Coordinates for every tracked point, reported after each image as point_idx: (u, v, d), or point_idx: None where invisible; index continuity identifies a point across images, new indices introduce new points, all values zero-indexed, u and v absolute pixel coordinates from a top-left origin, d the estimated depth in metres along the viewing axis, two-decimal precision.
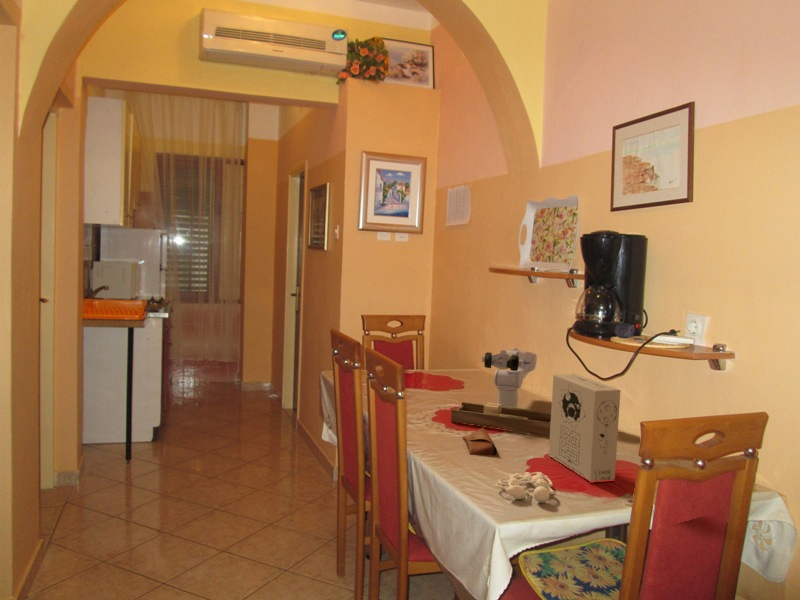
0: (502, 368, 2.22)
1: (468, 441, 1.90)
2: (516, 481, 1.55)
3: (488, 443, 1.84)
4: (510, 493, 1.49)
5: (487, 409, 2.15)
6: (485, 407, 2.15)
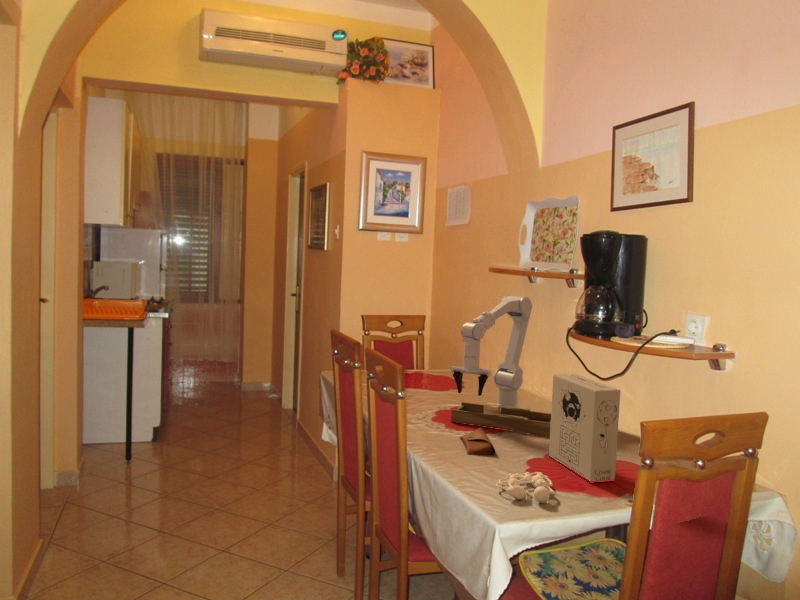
0: None
1: (466, 441, 1.90)
2: (516, 481, 1.55)
3: (486, 443, 1.84)
4: (510, 493, 1.49)
5: (487, 409, 2.15)
6: (485, 407, 2.15)
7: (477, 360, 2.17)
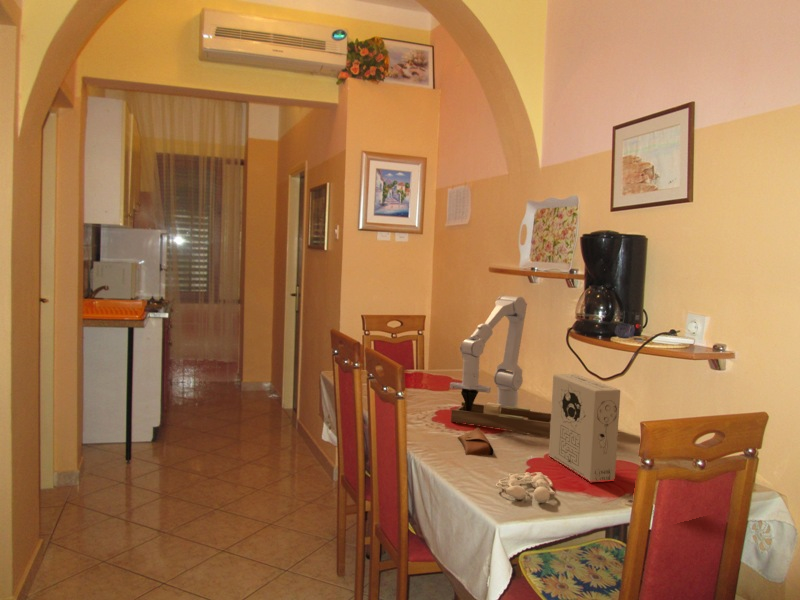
0: None
1: (464, 441, 1.90)
2: (516, 481, 1.55)
3: (484, 443, 1.84)
4: (510, 493, 1.49)
5: (487, 409, 2.15)
6: (485, 407, 2.15)
7: (476, 377, 2.17)
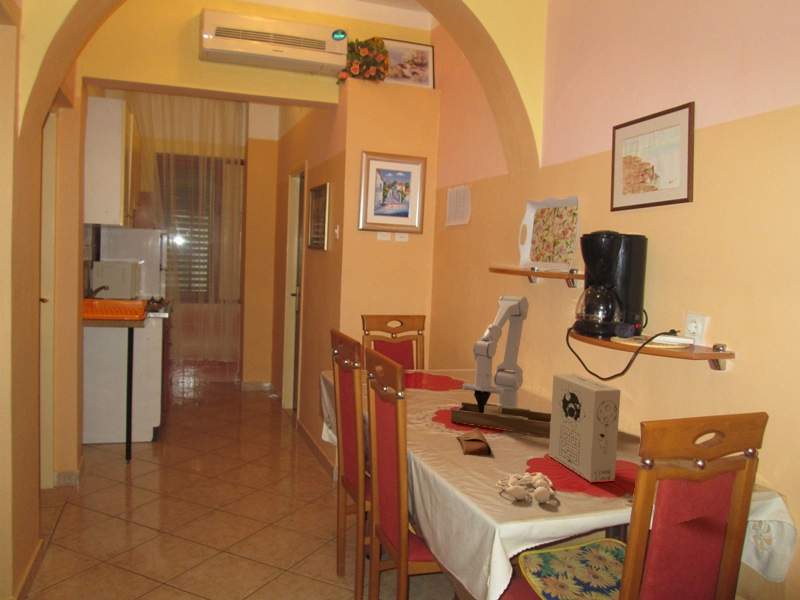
0: None
1: (462, 441, 1.90)
2: (516, 481, 1.55)
3: (482, 443, 1.84)
4: (510, 494, 1.49)
5: (488, 409, 2.15)
6: (486, 407, 2.15)
7: (489, 378, 2.15)
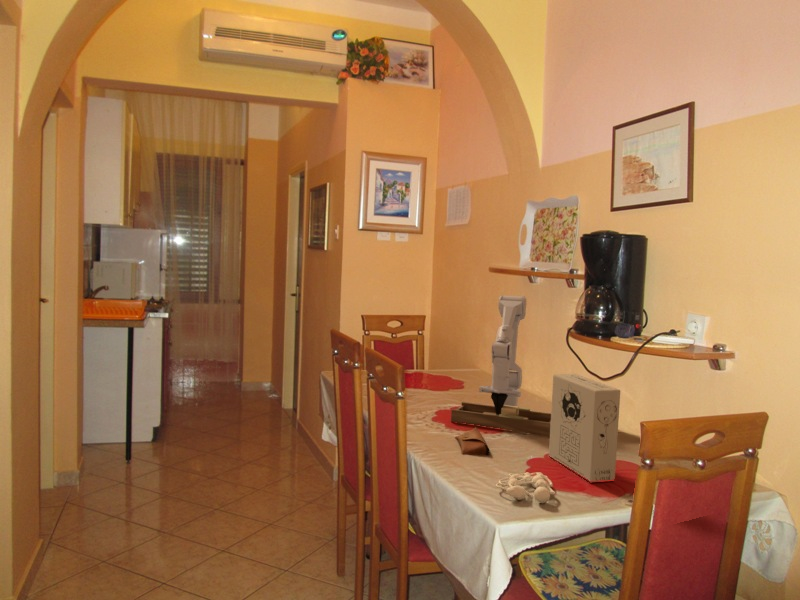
0: None
1: (461, 441, 1.90)
2: (516, 481, 1.55)
3: (480, 443, 1.84)
4: (511, 494, 1.49)
5: (505, 412, 2.12)
6: (503, 409, 2.13)
7: (506, 380, 2.13)
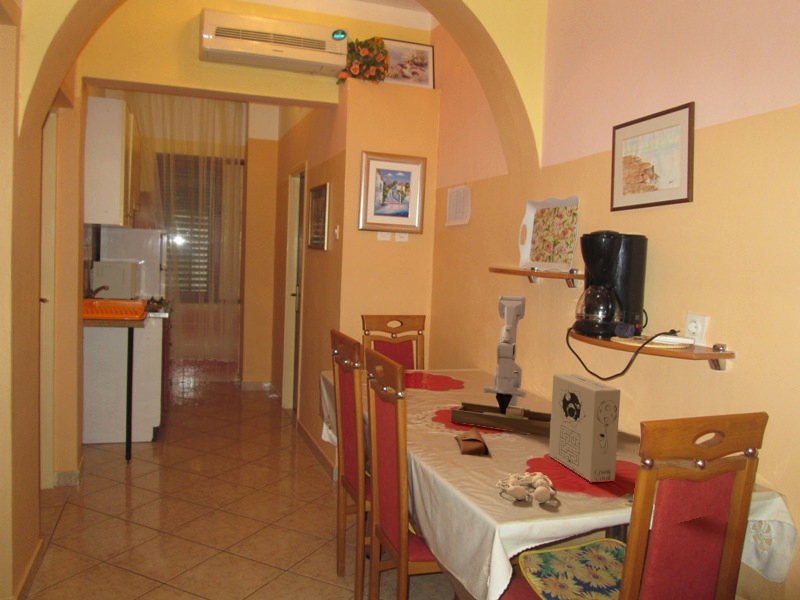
0: None
1: (460, 441, 1.91)
2: (516, 481, 1.55)
3: (479, 443, 1.84)
4: (511, 494, 1.48)
5: (510, 412, 2.12)
6: (507, 410, 2.12)
7: (511, 381, 2.12)
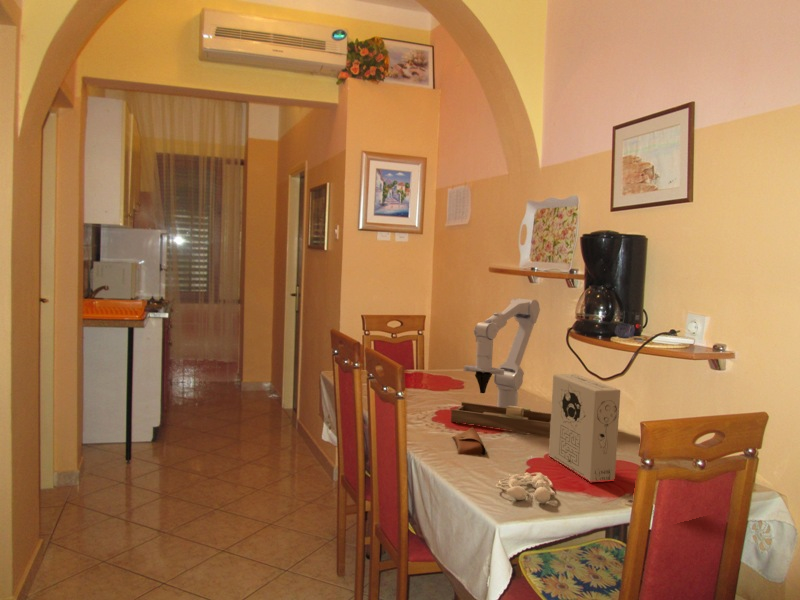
0: None
1: (457, 440, 1.91)
2: (516, 482, 1.55)
3: (477, 443, 1.84)
4: (511, 494, 1.48)
5: (510, 412, 2.12)
6: (507, 410, 2.12)
7: (490, 359, 2.19)
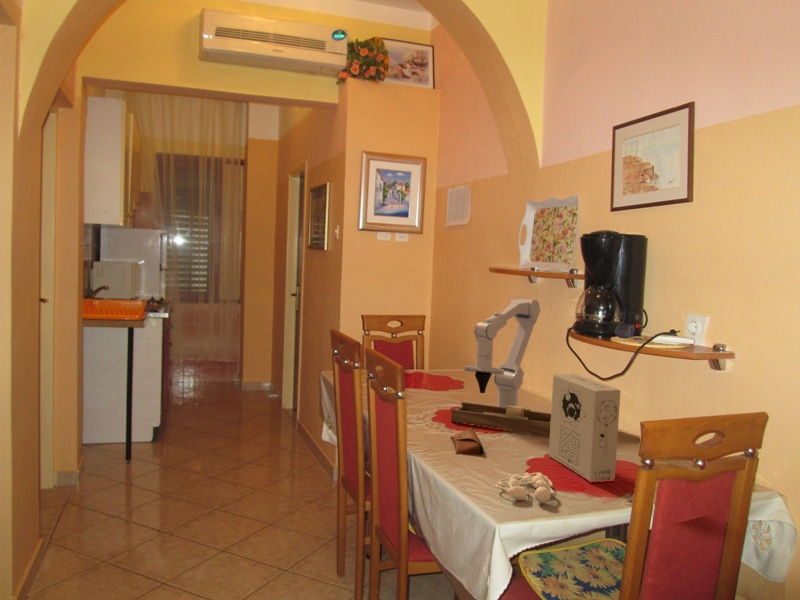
0: None
1: (455, 440, 1.91)
2: (516, 482, 1.55)
3: (474, 442, 1.84)
4: (511, 494, 1.48)
5: (510, 412, 2.12)
6: (507, 410, 2.12)
7: (490, 359, 2.20)
